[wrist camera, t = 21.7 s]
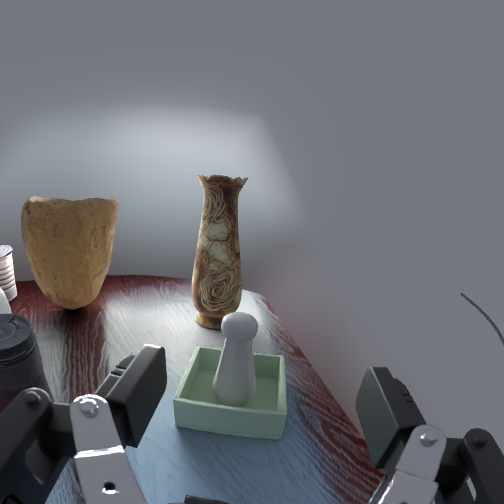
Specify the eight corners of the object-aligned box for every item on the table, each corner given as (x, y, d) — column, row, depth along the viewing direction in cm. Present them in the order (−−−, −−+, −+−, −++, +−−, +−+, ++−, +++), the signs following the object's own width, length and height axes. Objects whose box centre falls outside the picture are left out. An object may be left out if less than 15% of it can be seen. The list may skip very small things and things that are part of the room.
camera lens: (43, 466, 19) (-10, 360, 15) (2, 433, 20) (-43, 330, 16) (78, 427, 26) (47, 324, 23) (36, 403, 28) (6, 305, 24)
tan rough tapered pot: (134, 295, 69) (134, 193, 63) (97, 339, 47) (89, 200, 42) (62, 284, 68) (58, 191, 62) (14, 318, 46) (1, 199, 40)
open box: (197, 369, 44) (197, 344, 43) (279, 379, 43) (284, 355, 42) (175, 425, 31) (172, 399, 30) (280, 440, 31) (287, 414, 30)
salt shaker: (260, 393, 39) (272, 314, 36) (244, 418, 33) (254, 333, 30) (223, 381, 41) (229, 303, 38) (204, 402, 35) (206, 319, 32)
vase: (217, 336, 55) (228, 175, 48) (180, 317, 61) (186, 173, 54) (248, 319, 64) (262, 179, 57) (212, 305, 69) (221, 176, 63)
